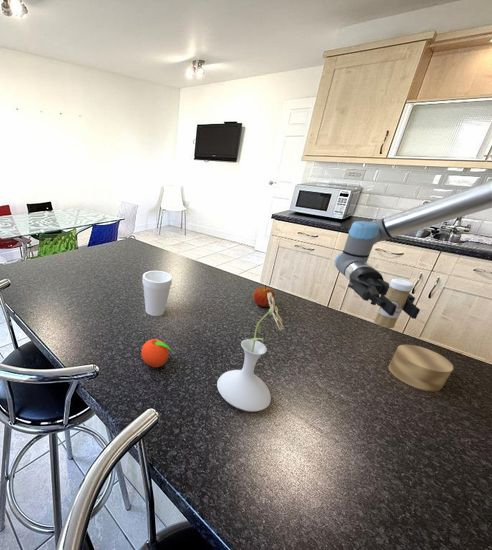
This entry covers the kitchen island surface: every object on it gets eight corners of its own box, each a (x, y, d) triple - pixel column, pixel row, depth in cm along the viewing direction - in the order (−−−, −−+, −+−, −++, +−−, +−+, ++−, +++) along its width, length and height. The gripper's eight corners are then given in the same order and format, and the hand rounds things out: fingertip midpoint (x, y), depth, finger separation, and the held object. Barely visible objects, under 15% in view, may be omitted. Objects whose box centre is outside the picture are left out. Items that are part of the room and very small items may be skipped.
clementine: (174, 359, 78) (176, 337, 75) (168, 377, 72) (170, 354, 69) (145, 352, 80) (146, 330, 77) (137, 369, 74) (138, 346, 71)
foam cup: (174, 315, 98) (177, 279, 93) (149, 321, 94) (152, 284, 89) (159, 302, 106) (161, 268, 100) (136, 307, 102) (137, 273, 97)
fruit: (276, 307, 103) (282, 287, 100) (263, 312, 101) (268, 291, 97) (260, 299, 109) (264, 279, 106) (247, 303, 106) (251, 283, 103)
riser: (425, 366, 77) (435, 348, 74) (452, 395, 68) (465, 375, 66) (380, 359, 79) (389, 341, 77) (401, 386, 70) (412, 366, 68)
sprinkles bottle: (375, 326, 82) (394, 282, 77) (372, 318, 86) (389, 276, 80) (396, 330, 80) (417, 286, 75) (391, 322, 84) (411, 280, 78)
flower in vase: (259, 426, 60) (289, 322, 49) (207, 397, 66) (224, 299, 56) (277, 389, 69) (306, 295, 58) (230, 367, 75) (249, 279, 65)
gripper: (390, 290, 95) (439, 330, 75) (330, 283, 100) (360, 319, 79) (399, 269, 92) (452, 304, 72) (337, 263, 96) (370, 295, 76)
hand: (404, 312), depth 75 cm, fingers closed on sprinkles bottle, 4 cm apart
